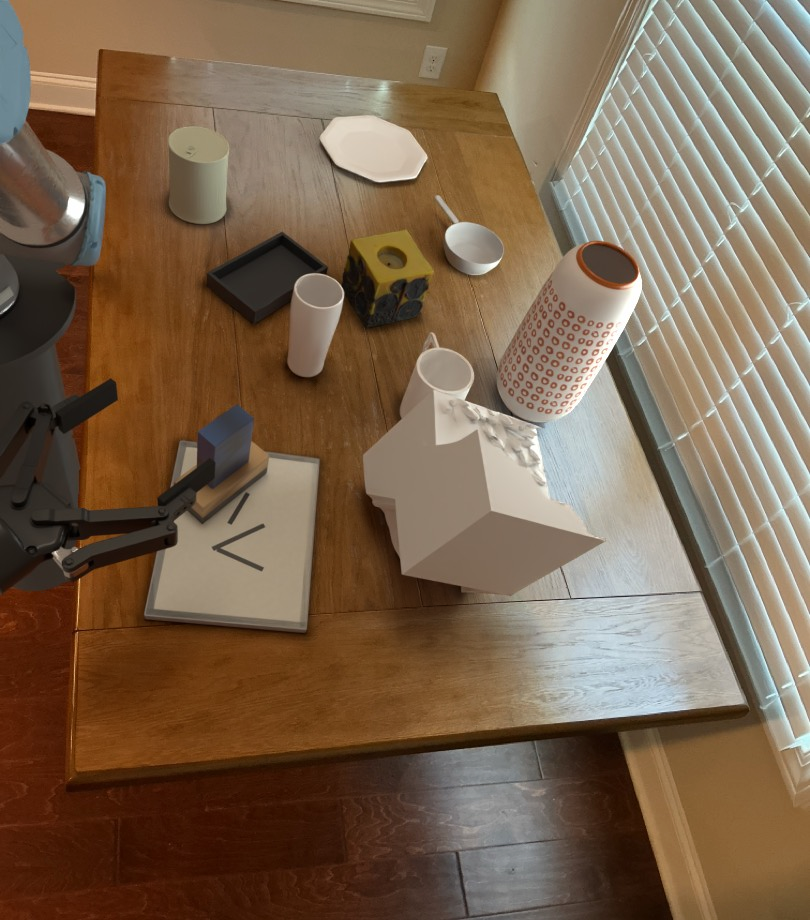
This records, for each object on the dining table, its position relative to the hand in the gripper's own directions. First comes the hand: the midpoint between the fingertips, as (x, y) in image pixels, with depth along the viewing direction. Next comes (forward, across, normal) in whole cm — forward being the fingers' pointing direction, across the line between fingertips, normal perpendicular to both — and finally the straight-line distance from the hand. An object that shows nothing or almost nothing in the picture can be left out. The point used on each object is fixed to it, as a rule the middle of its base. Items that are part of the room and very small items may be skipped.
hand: (162, 427), depth 74 cm
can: (+45, -41, -18) cm, 64 cm away
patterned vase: (+54, +21, -20) cm, 61 cm away
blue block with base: (+9, 0, -19) cm, 21 cm away
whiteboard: (+6, +6, -21) cm, 22 cm away
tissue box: (+24, +26, -21) cm, 41 cm away
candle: (+52, -8, -19) cm, 56 cm away
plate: (+83, -34, -17) cm, 91 cm away
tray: (+41, -22, -19) cm, 50 cm away
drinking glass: (+33, -7, -20) cm, 39 cm away
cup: (+40, +10, -20) cm, 46 cm away
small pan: (+75, -7, -18) cm, 78 cm away
